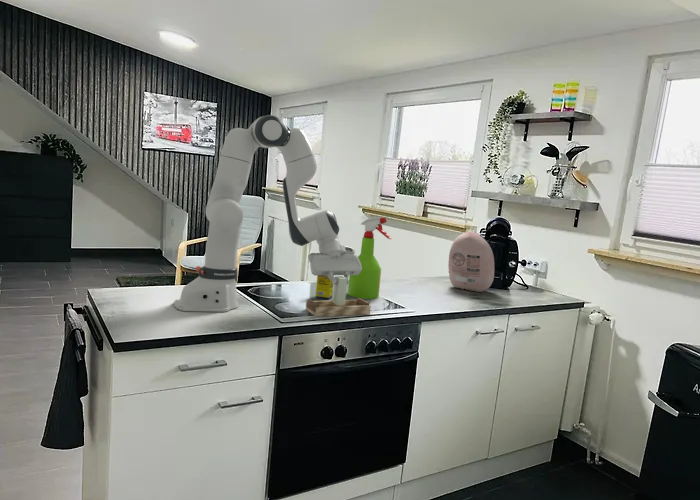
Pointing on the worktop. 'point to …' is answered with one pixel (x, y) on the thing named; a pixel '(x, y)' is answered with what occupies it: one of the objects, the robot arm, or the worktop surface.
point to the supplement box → (324, 287)
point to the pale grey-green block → (340, 291)
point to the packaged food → (471, 263)
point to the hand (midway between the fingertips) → (341, 283)
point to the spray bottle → (368, 264)
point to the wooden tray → (338, 307)
